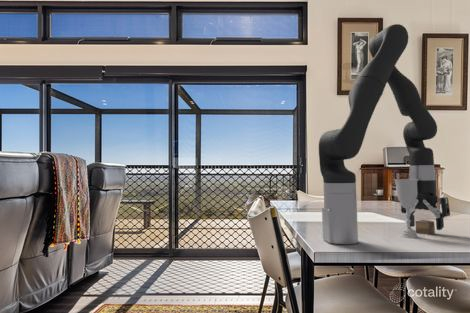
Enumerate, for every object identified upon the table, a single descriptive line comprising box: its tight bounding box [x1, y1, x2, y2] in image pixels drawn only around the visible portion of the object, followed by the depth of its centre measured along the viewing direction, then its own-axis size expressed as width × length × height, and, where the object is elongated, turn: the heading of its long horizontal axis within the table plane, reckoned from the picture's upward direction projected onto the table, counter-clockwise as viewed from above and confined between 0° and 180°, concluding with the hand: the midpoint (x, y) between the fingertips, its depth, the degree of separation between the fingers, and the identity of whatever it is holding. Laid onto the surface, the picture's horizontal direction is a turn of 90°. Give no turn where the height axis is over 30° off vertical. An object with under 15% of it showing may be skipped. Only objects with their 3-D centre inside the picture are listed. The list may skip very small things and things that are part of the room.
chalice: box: [394, 178, 419, 239], centre depth 98 cm, size 7×7×18 cm
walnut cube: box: [415, 219, 436, 236], centre depth 102 cm, size 4×4×4 cm
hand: (425, 228), depth 102 cm, fingers open, 8 cm apart
